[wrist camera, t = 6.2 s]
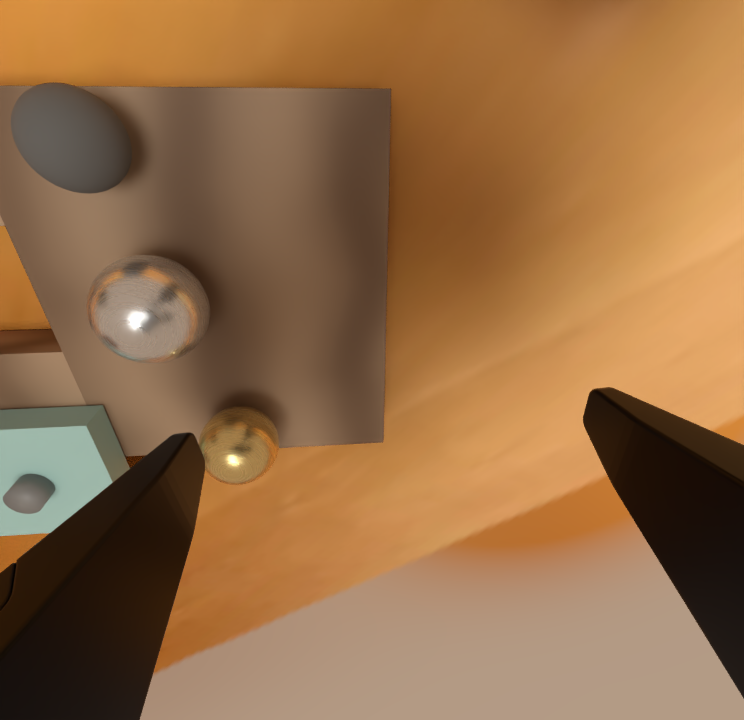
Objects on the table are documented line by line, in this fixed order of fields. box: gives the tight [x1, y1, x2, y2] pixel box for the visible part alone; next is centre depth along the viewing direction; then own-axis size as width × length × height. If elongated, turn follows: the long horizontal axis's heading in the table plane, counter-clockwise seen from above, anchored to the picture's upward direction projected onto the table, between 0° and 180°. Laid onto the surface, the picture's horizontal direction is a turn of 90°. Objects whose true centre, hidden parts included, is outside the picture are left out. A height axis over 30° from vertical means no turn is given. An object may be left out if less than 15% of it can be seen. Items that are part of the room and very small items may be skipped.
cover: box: [0, 405, 130, 536], centre depth 20 cm, size 7×7×2 cm
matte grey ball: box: [11, 83, 132, 194], centre depth 12 cm, size 3×3×3 cm
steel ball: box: [86, 255, 210, 364], centre depth 15 cm, size 4×4×4 cm
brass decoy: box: [198, 406, 279, 485], centre depth 19 cm, size 4×4×4 cm
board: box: [0, 86, 391, 456], centre depth 18 cm, size 22×16×2 cm
